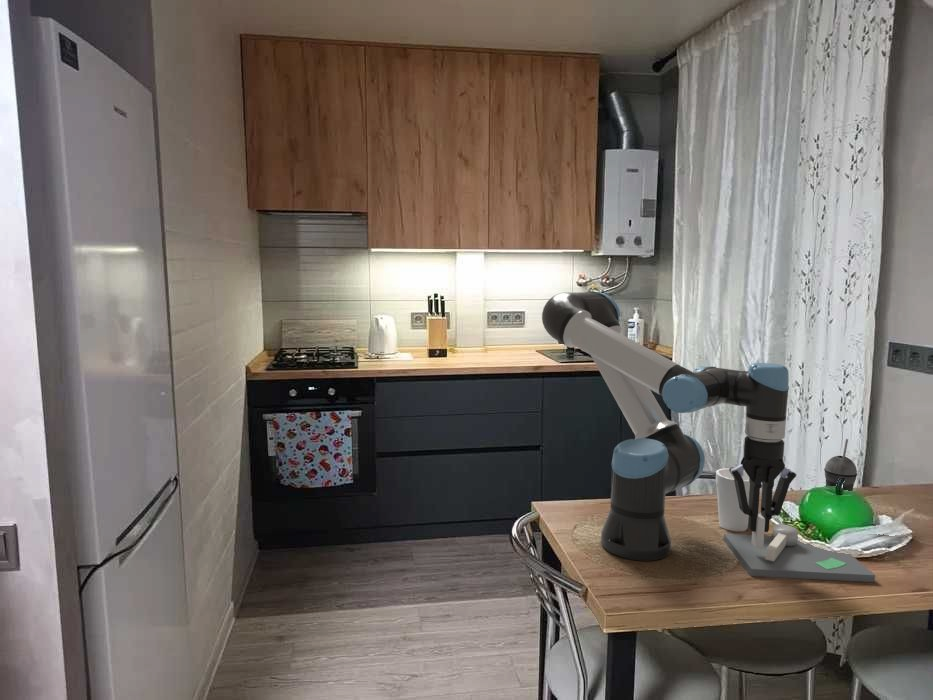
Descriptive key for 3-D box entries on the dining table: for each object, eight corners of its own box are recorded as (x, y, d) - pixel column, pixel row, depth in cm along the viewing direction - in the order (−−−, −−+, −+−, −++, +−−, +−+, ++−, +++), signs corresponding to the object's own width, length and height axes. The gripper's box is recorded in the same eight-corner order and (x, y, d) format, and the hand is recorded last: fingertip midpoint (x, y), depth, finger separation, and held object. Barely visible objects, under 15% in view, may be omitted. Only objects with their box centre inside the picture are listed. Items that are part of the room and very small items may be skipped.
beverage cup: (813, 511, 160) (820, 436, 158) (833, 508, 163) (840, 434, 160) (839, 522, 153) (846, 444, 151) (859, 518, 156) (867, 442, 153)
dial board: (750, 575, 126) (751, 568, 125) (723, 539, 143) (723, 533, 142) (874, 582, 124) (875, 574, 124) (831, 545, 141) (832, 538, 140)
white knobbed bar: (775, 534, 141) (776, 522, 141) (799, 540, 138) (800, 528, 138) (756, 556, 130) (757, 544, 130) (782, 564, 127) (783, 551, 126)
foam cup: (742, 537, 144) (747, 483, 142) (705, 525, 151) (708, 473, 149) (760, 526, 150) (764, 475, 149) (723, 515, 157) (727, 465, 155)
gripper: (738, 441, 126) (731, 551, 129) (805, 443, 125) (796, 554, 127) (726, 432, 133) (720, 536, 136) (789, 434, 132) (781, 539, 135)
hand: (757, 545), depth 132 cm, fingers closed
